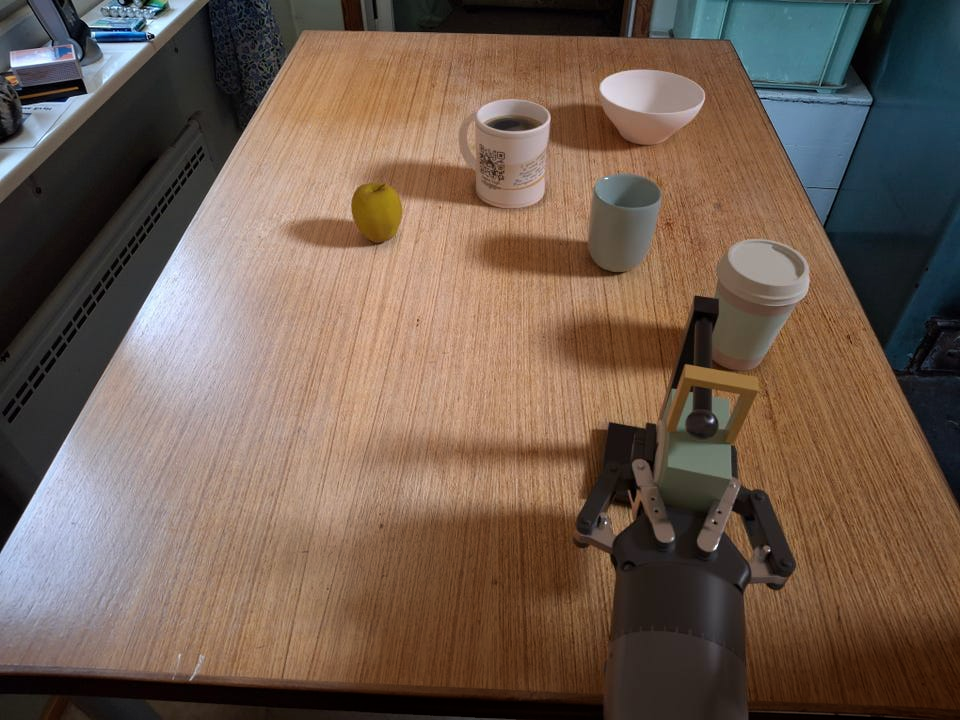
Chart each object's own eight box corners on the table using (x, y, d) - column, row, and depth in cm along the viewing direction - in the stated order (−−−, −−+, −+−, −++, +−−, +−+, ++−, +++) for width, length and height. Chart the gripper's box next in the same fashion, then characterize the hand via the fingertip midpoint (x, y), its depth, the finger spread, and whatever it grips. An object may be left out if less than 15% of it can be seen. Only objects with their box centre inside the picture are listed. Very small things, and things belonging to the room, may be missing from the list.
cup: (578, 244, 86) (587, 174, 79) (637, 241, 86) (652, 171, 79) (590, 282, 80) (601, 210, 73) (654, 279, 81) (671, 207, 74)
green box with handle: (697, 482, 54) (755, 345, 43) (695, 560, 49) (761, 427, 38) (639, 470, 55) (682, 332, 44) (632, 546, 50) (679, 411, 39)
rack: (714, 449, 63) (776, 296, 50) (714, 587, 53) (791, 442, 40) (607, 429, 65) (640, 276, 52) (588, 559, 55) (623, 411, 42)
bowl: (575, 140, 106) (580, 96, 101) (619, 103, 115) (625, 61, 110) (671, 169, 100) (681, 123, 95) (709, 127, 109) (720, 84, 104)
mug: (484, 215, 91) (484, 138, 83) (457, 172, 99) (455, 98, 91) (555, 201, 93) (562, 125, 85) (524, 160, 101) (527, 87, 93)
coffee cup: (772, 389, 68) (814, 298, 60) (687, 368, 70) (716, 277, 62) (778, 336, 74) (816, 245, 65) (699, 317, 76) (726, 227, 68)
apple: (412, 244, 86) (407, 189, 80) (363, 256, 84) (355, 200, 79) (396, 219, 90) (391, 164, 84) (350, 229, 88) (341, 174, 83)
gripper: (835, 674, 34) (803, 420, 46) (554, 609, 36) (592, 384, 48) (787, 723, 39) (769, 484, 51) (544, 663, 42) (581, 449, 53)
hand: (683, 437), depth 49 cm, fingers closed on green box with handle, 4 cm apart
